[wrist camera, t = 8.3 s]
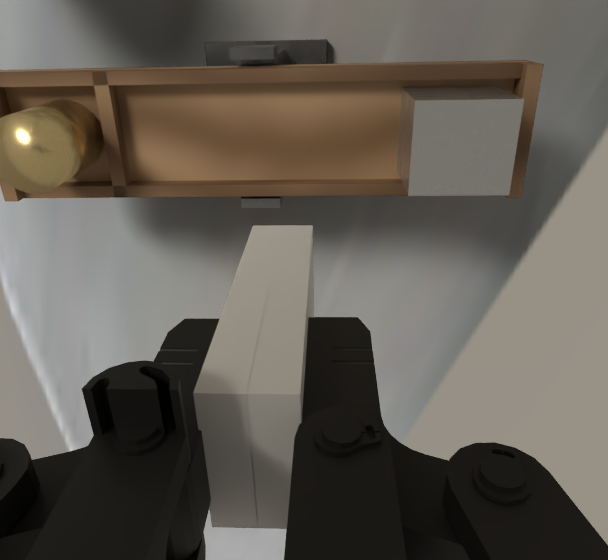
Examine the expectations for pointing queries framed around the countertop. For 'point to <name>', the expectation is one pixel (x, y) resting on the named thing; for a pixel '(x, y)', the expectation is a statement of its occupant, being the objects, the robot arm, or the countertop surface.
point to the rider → (458, 140)
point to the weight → (48, 145)
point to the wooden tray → (254, 125)
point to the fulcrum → (265, 55)
